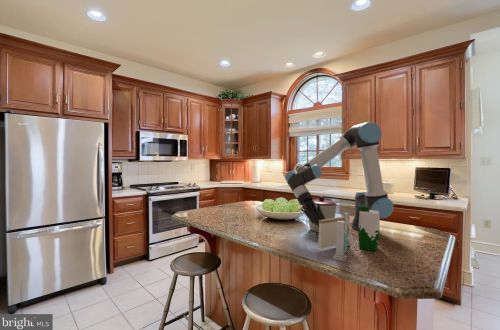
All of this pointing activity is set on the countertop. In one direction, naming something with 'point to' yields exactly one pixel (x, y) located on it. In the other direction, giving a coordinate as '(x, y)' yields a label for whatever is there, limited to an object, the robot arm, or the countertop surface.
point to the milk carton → (368, 228)
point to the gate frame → (342, 238)
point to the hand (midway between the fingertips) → (327, 234)
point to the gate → (328, 232)
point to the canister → (324, 211)
